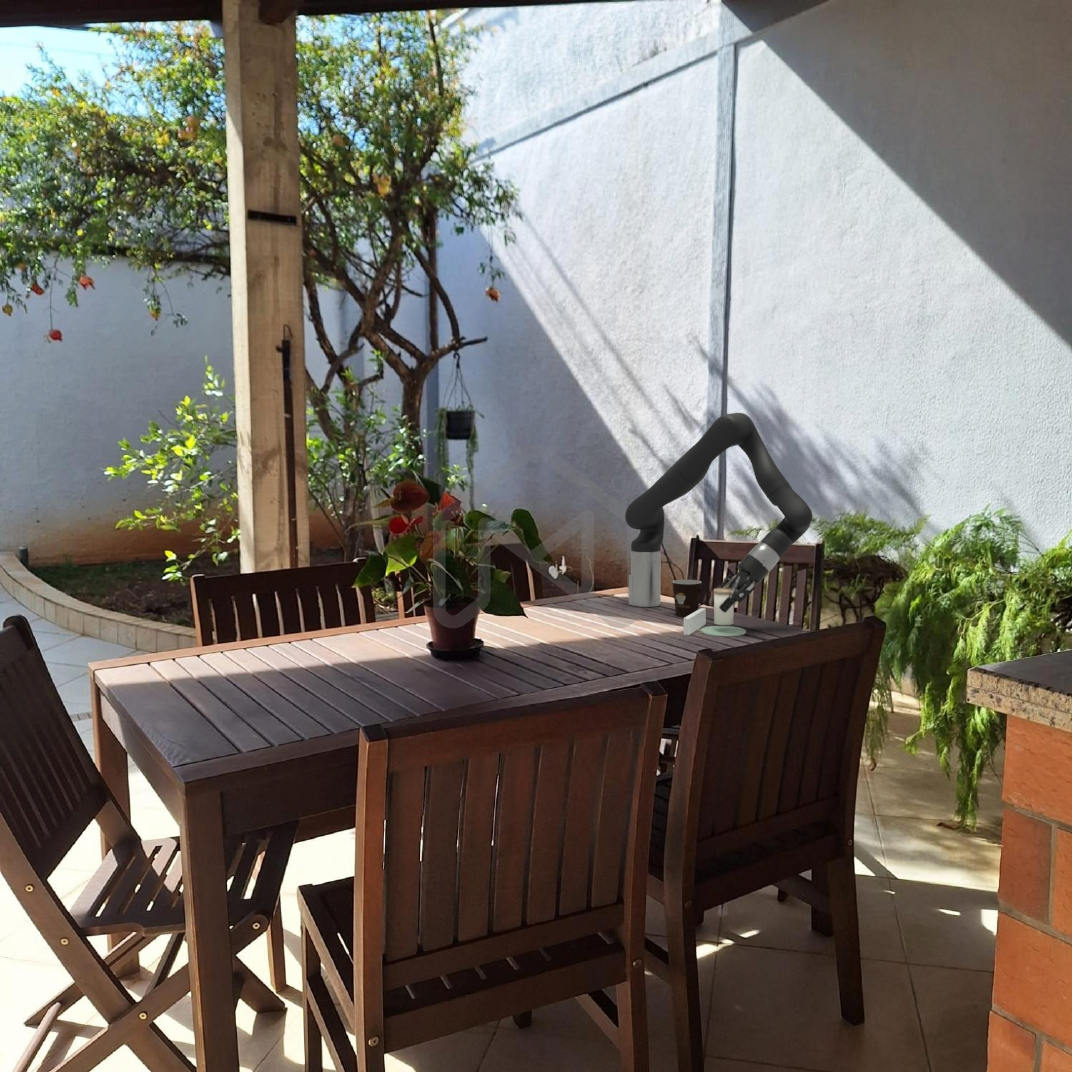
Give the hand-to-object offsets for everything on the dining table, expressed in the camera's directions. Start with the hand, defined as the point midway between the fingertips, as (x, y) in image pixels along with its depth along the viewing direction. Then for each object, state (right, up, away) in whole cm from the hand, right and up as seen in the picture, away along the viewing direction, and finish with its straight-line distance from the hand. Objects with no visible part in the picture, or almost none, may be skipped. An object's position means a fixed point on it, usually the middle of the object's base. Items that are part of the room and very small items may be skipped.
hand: (717, 608), depth 262 cm
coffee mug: (-4, -4, +24) cm, 25 cm away
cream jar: (+2, -4, +1) cm, 5 cm away
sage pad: (+2, -7, +1) cm, 7 cm away
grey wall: (-5, -6, +5) cm, 9 cm away
